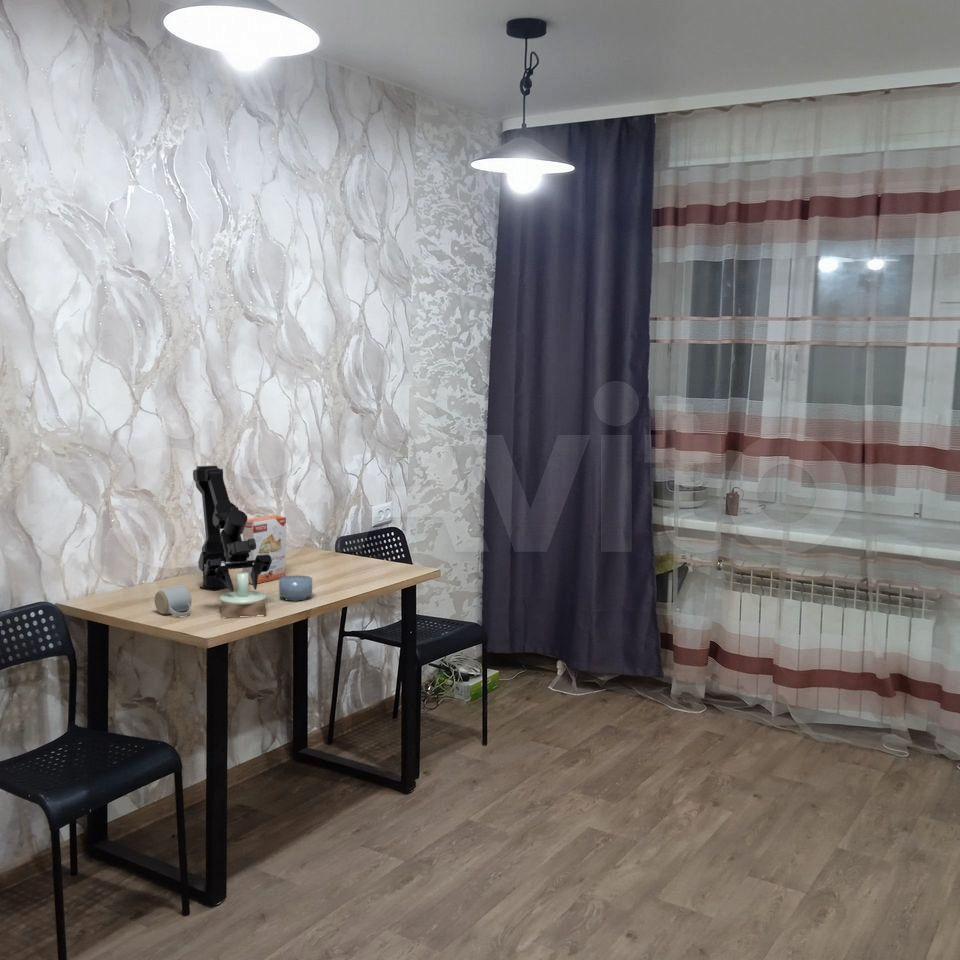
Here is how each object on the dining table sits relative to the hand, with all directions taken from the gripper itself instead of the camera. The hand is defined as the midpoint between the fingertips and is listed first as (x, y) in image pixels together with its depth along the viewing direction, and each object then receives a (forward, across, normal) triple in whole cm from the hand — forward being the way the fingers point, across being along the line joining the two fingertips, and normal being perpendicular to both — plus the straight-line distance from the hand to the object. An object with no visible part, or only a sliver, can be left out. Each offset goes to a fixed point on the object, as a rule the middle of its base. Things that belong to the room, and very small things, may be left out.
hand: (244, 589), depth 282 cm
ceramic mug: (-1, -17, +11) cm, 21 cm away
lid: (+1, 0, +3) cm, 3 cm away
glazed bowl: (-2, +19, +12) cm, 23 cm away
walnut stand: (+4, 0, +6) cm, 7 cm away
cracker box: (-22, +18, +32) cm, 42 cm away
